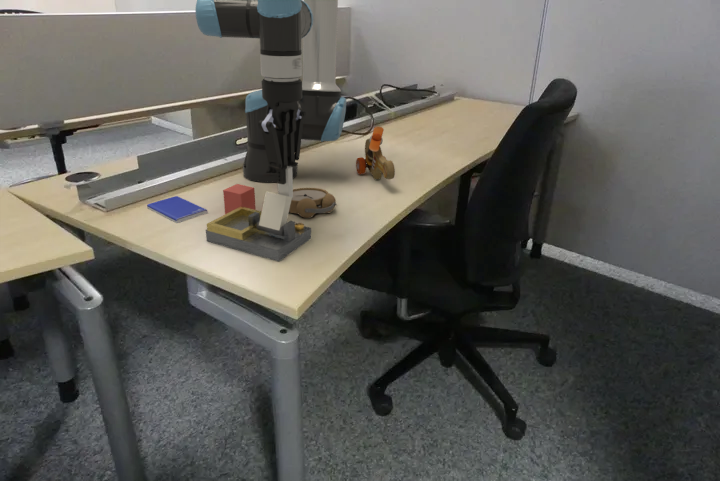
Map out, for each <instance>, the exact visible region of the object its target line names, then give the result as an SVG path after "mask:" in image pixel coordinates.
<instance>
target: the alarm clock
mask: <svg viewBox="0 0 720 481" xmlns="http://www.w3.org/2000/svg"><path fill="white" fill-rule="evenodd" d="M336 202H337V201H336V197H335V196H334V195H333V194H331V193H329V191H327V190H326V189H323V188H318V187H299V188H293V198H292V200H291V204H290V209H289V213H290V214H297V215H298V216H300V217H302V218H305V219H309V218H311V217H313V216H314V215H316V214H321V213H325V214H329V213H332V212H333V211H334V209H336V206H337V203H336Z"/></svg>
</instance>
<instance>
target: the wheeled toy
mask: <svg viewBox="0 0 720 481" xmlns="http://www.w3.org/2000/svg"><path fill="white" fill-rule="evenodd" d="M384 130H385V129H384V127H382V126H379V125H377V126H375V127H374V128H373V131H372V134H371V136H370V137H369V138H367V139H366V140H365V145H364V157H357V158H356V160H355V168H356V169H355V170H356V173H357V174H358V175H364V174H366V172H367V169H368V171H369V173H370V174H371V175H372V178H373V179H374V180H375V179H377V180H381V179H382V177H383V178H384V179H385V180H393V179H394V177H395V174H396V168H395V164H394V162H393V160H388V159H387V158H386V157H385V155H383V152H382V151H383V150H382V148H381V145H382V144H383V140H384V139H383V134H384ZM382 175H383V176H382Z"/></svg>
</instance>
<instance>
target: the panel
mask: <svg viewBox="0 0 720 481" xmlns="http://www.w3.org/2000/svg"><path fill="white" fill-rule="evenodd" d="M261 213H262V210H257V209H256V210H254V209H249V208H245V207H239V208H237V209H235V210H233V211H231V212H229V213H227V214H225V213H224V214H223V215H221V216H219V217H217V218H216V219H214V220H212V221H209V222H208V223H206V229H205V238H206V242H209V243H213V244H216V245H220V246H223V247H227V248H230V249H234V250H237V251H240V252H243V253H247V254H250V255H255V256H258V257H261V258H264V259H268V260H272V261H276V262H280V261H282V260H284V258H286V257H288V256H289V255H291V254H292V253H293V252H294V251H296V250H298V249H299V248H300V247H301V246H303V245H305V244H306V243H307V242H309V241H310V240H312V227H309V226H306V225H304V223H302V222H298V223H297V222H296V221H293V220H289V221H287V223H286V224H284V236H280V235H276V234H272V233H269V232H265V231H261V230H258V229H257V223H258V221H260V217H261ZM295 222H296V223H295Z"/></svg>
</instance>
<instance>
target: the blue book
mask: <svg viewBox="0 0 720 481" xmlns="http://www.w3.org/2000/svg"><path fill="white" fill-rule="evenodd" d="M146 206H147V209H148V210H150V211H152V212H154V213H156V214H157V215H160V216H161V217H163V218H165V219H167V220H170V221H172V222H174V223H176V224H178V223H181V222H184V221H188V220H191V219H194V218H198V217H200V216H204V215H206V214H209V211H208V209H207V208H204V207H202V206H200V205H198V204H195V203H193V202H191V201H189V200H187V199H185V198H182V197H180V196H178V195H174V196H171V197H168V198H164V199H162V200H158V201H155V202H154V201H153V202H150V203H148V204H147V205H146Z"/></svg>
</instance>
